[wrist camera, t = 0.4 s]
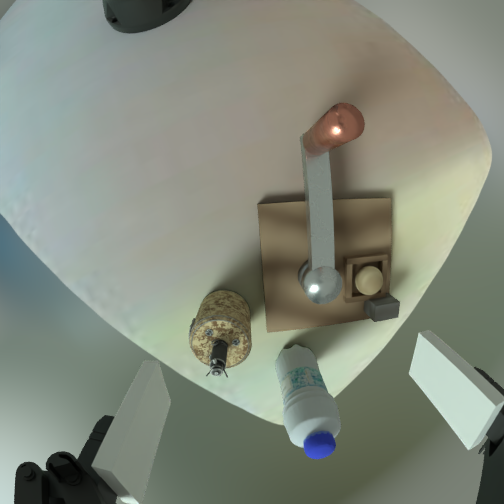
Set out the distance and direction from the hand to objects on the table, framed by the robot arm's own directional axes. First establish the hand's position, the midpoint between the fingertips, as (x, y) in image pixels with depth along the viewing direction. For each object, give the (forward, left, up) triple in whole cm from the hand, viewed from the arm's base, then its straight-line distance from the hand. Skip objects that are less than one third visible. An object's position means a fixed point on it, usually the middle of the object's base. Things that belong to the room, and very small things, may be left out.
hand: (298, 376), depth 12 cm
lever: (-5, +7, -22) cm, 24 cm away
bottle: (+17, +4, -27) cm, 32 cm away
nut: (+4, +14, -25) cm, 29 cm away
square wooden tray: (+2, +9, -26) cm, 28 cm away
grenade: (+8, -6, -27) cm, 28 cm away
